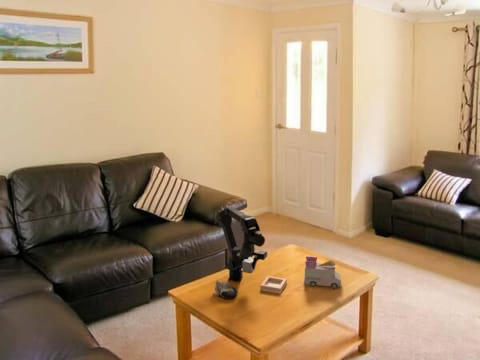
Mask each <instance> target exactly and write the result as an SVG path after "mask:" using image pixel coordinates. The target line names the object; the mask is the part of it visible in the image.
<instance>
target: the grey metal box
mask: <svg viewBox="0 0 480 360" xmlns="http://www.w3.org/2000/svg"><path fill="white" fill-rule="evenodd" d="M253 258H254V257H249V259H244V260H243V261H242V267H243V268H242V273H245V274H252V273H254V271H255V270H256V267H255V268H254V269H253Z"/></svg>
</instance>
